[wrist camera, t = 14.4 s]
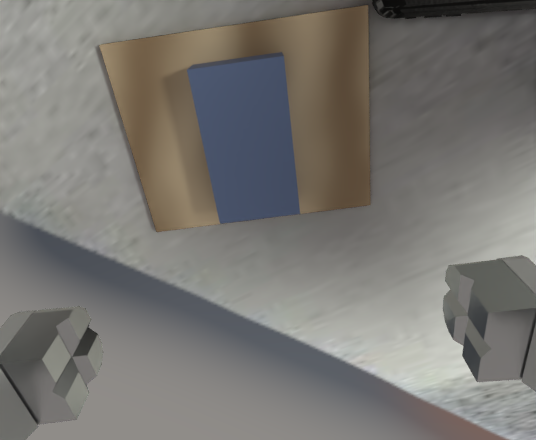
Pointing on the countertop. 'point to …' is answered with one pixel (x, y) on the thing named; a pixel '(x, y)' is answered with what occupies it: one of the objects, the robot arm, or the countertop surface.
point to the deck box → (247, 136)
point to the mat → (300, 105)
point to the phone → (445, 7)
